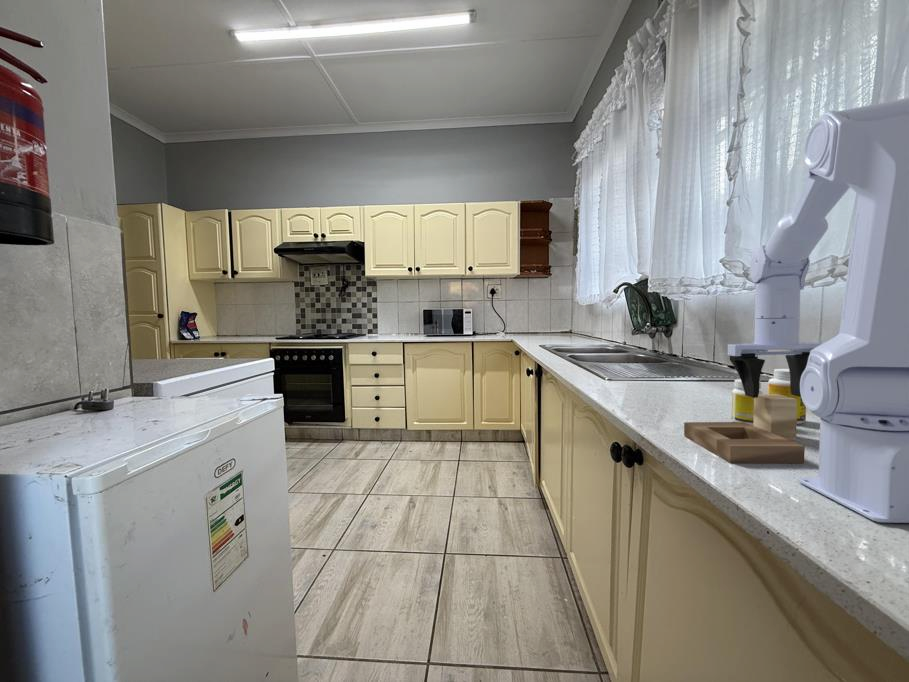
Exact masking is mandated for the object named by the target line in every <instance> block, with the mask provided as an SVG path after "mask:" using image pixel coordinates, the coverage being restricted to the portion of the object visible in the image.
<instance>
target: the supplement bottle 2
mask: <svg viewBox="0 0 909 682" xmlns="http://www.w3.org/2000/svg"><path fill="white" fill-rule="evenodd" d="M767 382H768V388H767V390H768V391H767V394H779V395H783V396H787V397H791V398H795V399H797V425H802V423H803V424H804V423H805V422H806V421H807V420H806V418H807V417H806V416H807V407H806V406H805V405H804V403H803V401H802V398H801V397H799V396H795V395H791V390H790V371H789V368H774V370H773V378H770V379H769V380H768V381H767Z"/></svg>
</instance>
